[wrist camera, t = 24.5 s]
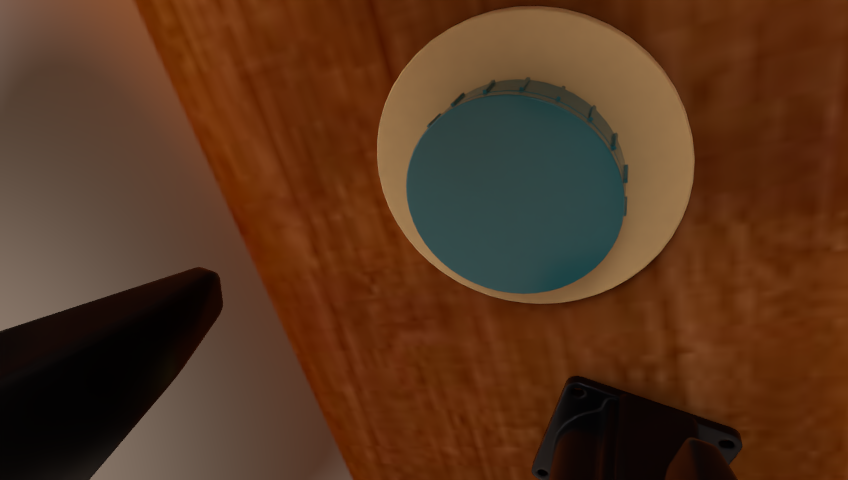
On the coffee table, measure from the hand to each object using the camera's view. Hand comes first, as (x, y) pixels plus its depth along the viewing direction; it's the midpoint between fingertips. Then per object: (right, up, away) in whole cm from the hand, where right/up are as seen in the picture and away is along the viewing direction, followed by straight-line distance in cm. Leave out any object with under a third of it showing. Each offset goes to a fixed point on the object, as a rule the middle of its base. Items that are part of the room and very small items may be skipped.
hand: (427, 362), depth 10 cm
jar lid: (+3, +3, +6) cm, 8 cm away
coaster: (+3, +4, +8) cm, 9 cm away
